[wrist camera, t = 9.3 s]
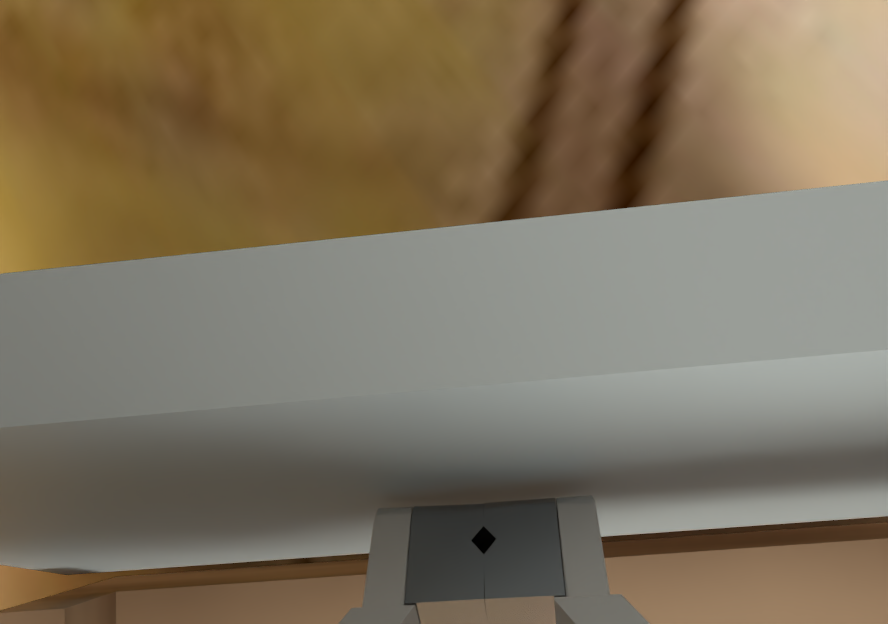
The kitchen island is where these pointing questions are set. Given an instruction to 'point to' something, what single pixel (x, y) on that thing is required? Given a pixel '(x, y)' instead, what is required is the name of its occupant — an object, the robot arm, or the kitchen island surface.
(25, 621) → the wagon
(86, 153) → the kitchen island surface
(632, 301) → the tailgate
